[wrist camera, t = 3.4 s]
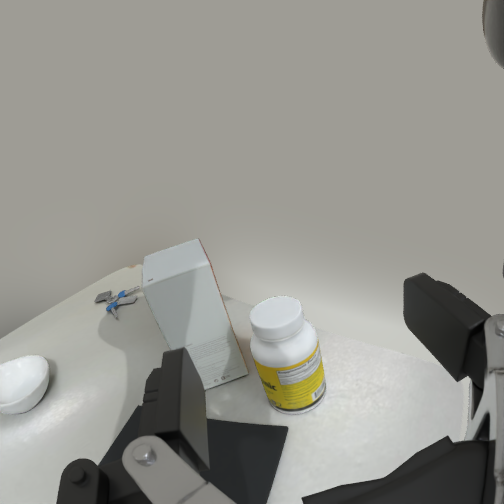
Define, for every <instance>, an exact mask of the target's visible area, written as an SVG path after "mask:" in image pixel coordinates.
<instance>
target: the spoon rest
mask: <svg viewBox="0 0 504 504" xmlns="http://www.w3.org/2000/svg"><path fill="white" fill-rule="evenodd" d="M49 373H50V369H49V363H48V361H47V360H46V359H45V358H44V357H42V356H39V355H29V356H24V357H20V358H16V359H13V360H10V361H7V362H4V363H2V364H0V412H1V413H6V414H19V413H25V412H27V411H29V410H31V409H32V408H33V407H34V406H35V405H36V404H37V403H38V402H39V401H40V400H41V398H42V397H43V395H44V393H45V391H46V389H47V386H48V382H49Z"/></svg>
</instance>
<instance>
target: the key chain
mask: <svg viewBox="0 0 504 504" xmlns="http://www.w3.org/2000/svg"><path fill="white" fill-rule="evenodd" d="M136 289H139V286H137V287H135V288H132V289H130V290H128V291H125V290H124V291H122V292H120V293H119V294H118V297H117V295H115V296H113V297H111V296H110V294H111V291H108V292H104V293H101V294H99V295H98V296H97V298H96V300H95V302H99V301H102V300H107V302H106V303H112V304H106V305H109V306H108V307H107V308H106V310H107V311H109V310H112V313H113V315H114V316H115V317H116V318H117V317H118V316H117V313H116V311H115V309H114V307H116V306H117V305H120V304H128V303H134V302H135V300H136V298H137V296H138V295H137V296H129V297H124V296H126V294H128V293H129V292H133V291H135V290H136ZM112 298H114V299H112ZM118 298H120V299H118ZM111 300H113V301H111ZM116 300H118V302H115V301H116ZM109 301H110V302H109ZM113 302H114V303H113Z"/></svg>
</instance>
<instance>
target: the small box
mask: <svg viewBox="0 0 504 504" xmlns="http://www.w3.org/2000/svg"><path fill="white" fill-rule="evenodd" d="M142 290H143V293H144V295H145V297H146V300H147V302H148V304H149V306H150V309H151V311H152V313H153V315H154V317H155V319H156V322H157V324H158V326H159V328H160V330H161V332H162V334H163V336H164V338H165V340H166V342H167V344H168V346H169V348H170V350H175V349H179V348H183V347H185V348H186V349H187V351H188V353H189V355H190V357H191V359H192V361H193V363H194V365H195V367H196V369H197V371H198V373H199V375H200V378H201V380H202V383H203V386H204V390H206V389H209V388H212V387H214V386H217V385H220V384H223V383H226V382H228V381H231V380H234V379H236V378H239V377H242V376H244V375H247V374H248V373H249V372H248V369H247V366H246V363H245V360H244V358H243V355H242V352H241V350H240V347H239V344H238V342H237V339H236V336H235V334H234V331H233V328H232V325H231V322H230V319H229V316H228V313H227V311H226V308H225V305H224V302H223V299H222V296H221V293H220V290H219V287H218V284H217V281H216V278H215V275H214V272H213V269H212V266H211V263H210V260H209V258H208V256H207V254H206V252H205V250H204V248H203V246H202V244H201V242H200V240H199V239H194V240H191V241H188V242H186V243H182V244H180V245H176V246H173V247H171V248H167V249H164V250H162V251H159V252H156V253H153V254H150V255H147V256H145V258H144V263H143V269H142Z"/></svg>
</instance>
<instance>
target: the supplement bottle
mask: <svg viewBox="0 0 504 504" xmlns="http://www.w3.org/2000/svg"><path fill="white" fill-rule="evenodd" d="M249 319H250V323H251V326H252V330H253V332H254V334H253V336H252V338H251V342H250V349H251V353H252V356H253V359H254V362H255V365H256V368H257V370H258V373H259V375H260V378H261V381H262V384H263V386H264V389H265V392H266V394H267V397H268V399H269V401H270V403H271V405H272V406H273V407H274V408H275V409H276V410H278V411H280V412H282V413H285V414H301V413H305V412H307V411H310V410H312V409H313V408H315V407H316V406H317V405H318V404H319V403H320V402H321V401H322V400H323V398H324V396H325V393H326V381H325V376H324V370H323V364H322V359H321V353H320V347H319V341H318V336H317V333H316V330H315V328H314V326H313V325H312V324H311V323H310V322H309V321H307V320H306V319H305V318H304V313H303V309H302V305H301V303H300V302H299V301H298V300H297V299H295V298H293V297H290V296H276V297H272V298H269V299H266V300H264V301H262V302H260V303H258V304H257V305H256V306H255V307H254V308H253V309H252V310H251V312H250V316H249Z"/></svg>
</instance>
